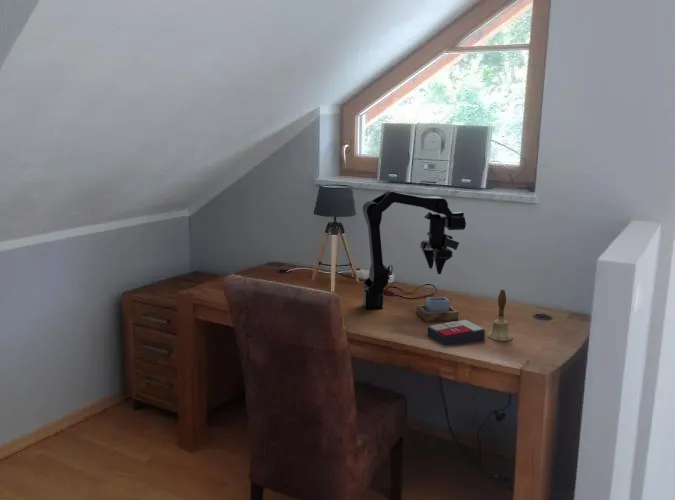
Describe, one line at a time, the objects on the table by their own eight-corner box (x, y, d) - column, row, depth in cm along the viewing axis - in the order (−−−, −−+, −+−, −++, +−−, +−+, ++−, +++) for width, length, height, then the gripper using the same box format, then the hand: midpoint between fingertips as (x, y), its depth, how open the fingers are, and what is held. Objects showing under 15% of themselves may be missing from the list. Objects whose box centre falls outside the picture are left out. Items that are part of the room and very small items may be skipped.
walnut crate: (425, 321, 232) (426, 313, 232) (416, 313, 242) (416, 305, 241) (457, 320, 235) (458, 311, 234) (447, 311, 244) (448, 303, 244)
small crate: (430, 317, 235) (430, 301, 234) (425, 313, 240) (426, 297, 239) (448, 316, 236) (449, 300, 235) (443, 312, 241) (444, 296, 240)
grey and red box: (427, 324, 218) (465, 317, 224) (427, 337, 219) (465, 329, 225) (445, 335, 208) (485, 327, 214) (445, 348, 209) (485, 340, 215)
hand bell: (482, 337, 218) (485, 290, 214) (494, 331, 224) (498, 285, 220) (505, 343, 212) (508, 295, 209) (517, 337, 218) (521, 290, 215)
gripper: (467, 234, 240) (464, 276, 243) (448, 225, 258) (446, 264, 261) (437, 235, 238) (435, 277, 241) (420, 226, 256) (419, 265, 259)
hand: (434, 271), depth 251 cm, fingers open, 9 cm apart
